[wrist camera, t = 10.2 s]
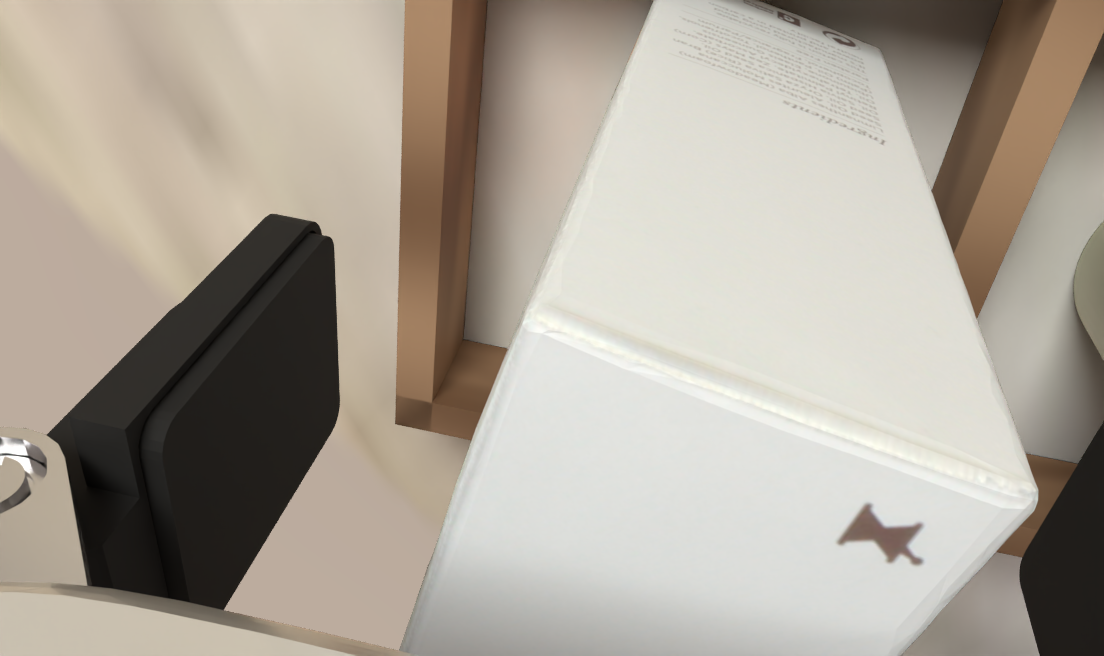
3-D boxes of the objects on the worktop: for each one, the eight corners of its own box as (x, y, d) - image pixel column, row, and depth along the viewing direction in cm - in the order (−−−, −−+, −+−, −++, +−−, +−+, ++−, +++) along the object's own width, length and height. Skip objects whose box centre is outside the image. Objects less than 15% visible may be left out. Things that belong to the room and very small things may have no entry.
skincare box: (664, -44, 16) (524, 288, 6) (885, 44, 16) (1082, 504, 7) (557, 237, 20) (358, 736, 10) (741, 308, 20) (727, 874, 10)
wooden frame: (454, -184, 16) (409, -174, 14) (1760, 8, 14) (1936, 54, 12) (428, 360, 22) (395, 424, 20) (1319, 543, 20) (1383, 634, 18)
